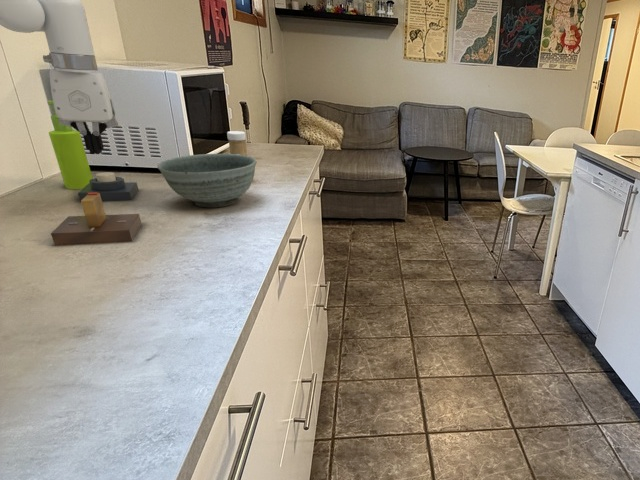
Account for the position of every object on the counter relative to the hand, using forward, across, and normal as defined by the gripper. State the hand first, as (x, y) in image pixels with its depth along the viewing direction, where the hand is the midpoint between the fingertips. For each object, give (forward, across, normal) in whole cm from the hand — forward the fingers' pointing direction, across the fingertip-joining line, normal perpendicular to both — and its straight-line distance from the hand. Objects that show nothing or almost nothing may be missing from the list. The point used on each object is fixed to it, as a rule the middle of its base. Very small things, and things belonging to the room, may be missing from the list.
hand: (96, 152), depth 108 cm
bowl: (+10, +24, -8) cm, 27 cm away
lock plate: (+10, +5, -28) cm, 30 cm away
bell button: (+7, +1, 0) cm, 7 cm away
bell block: (+10, +1, 0) cm, 10 cm away
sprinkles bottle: (+10, +30, +12) cm, 34 cm away
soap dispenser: (+10, -7, +10) cm, 16 cm away
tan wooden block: (+8, +5, -28) cm, 29 cm away
